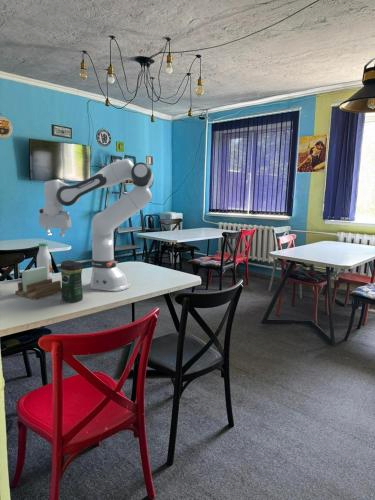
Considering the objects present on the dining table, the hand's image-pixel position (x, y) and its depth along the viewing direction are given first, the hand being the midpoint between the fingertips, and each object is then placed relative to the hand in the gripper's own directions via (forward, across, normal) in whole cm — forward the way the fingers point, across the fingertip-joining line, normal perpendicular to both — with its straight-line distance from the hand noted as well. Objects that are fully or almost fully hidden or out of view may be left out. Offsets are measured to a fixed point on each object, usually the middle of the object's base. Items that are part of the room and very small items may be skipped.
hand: (55, 236), depth 185 cm
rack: (+25, -7, +19) cm, 32 cm away
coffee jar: (+26, -28, +18) cm, 42 cm away
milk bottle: (+26, +14, -3) cm, 29 cm away
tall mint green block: (+24, -4, +19) cm, 30 cm away
